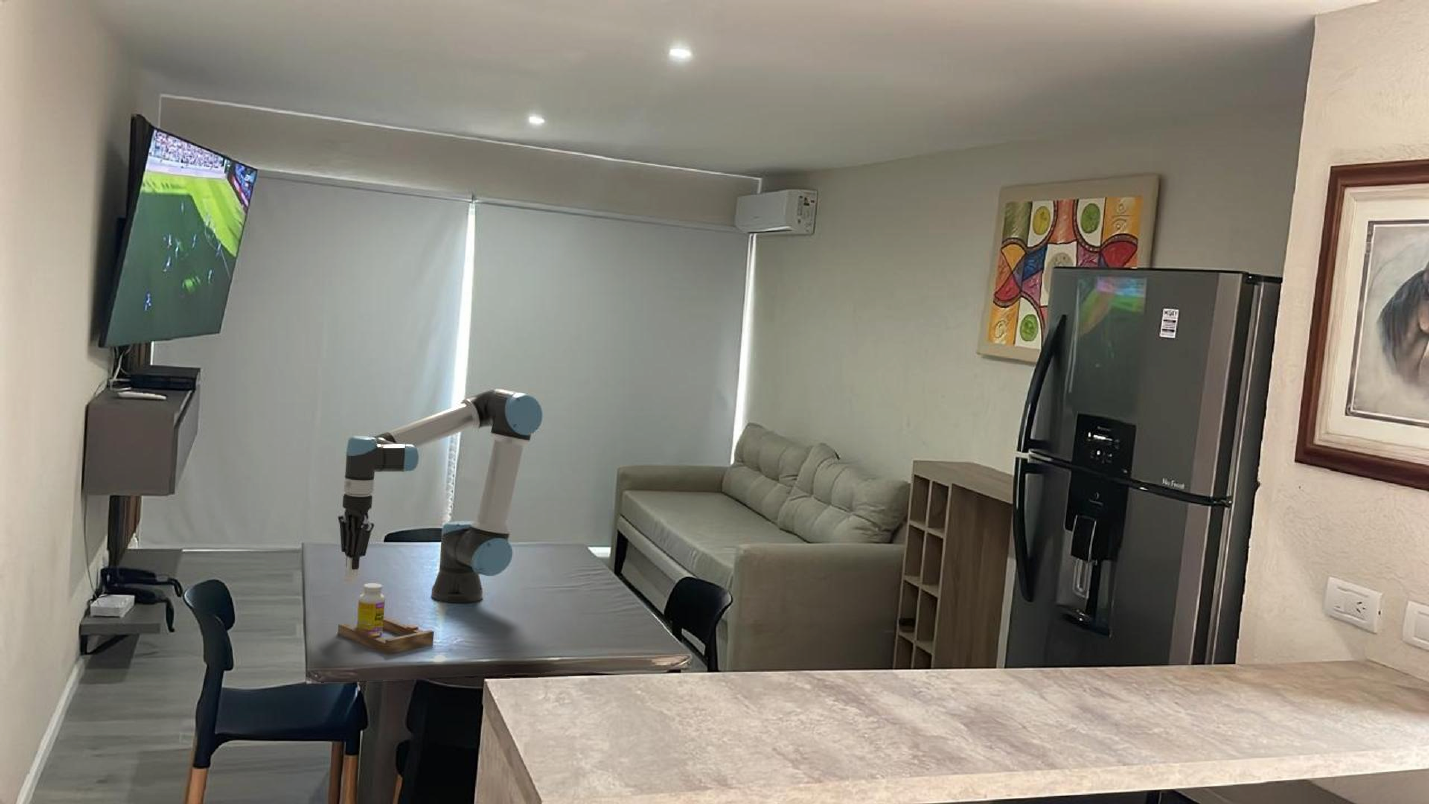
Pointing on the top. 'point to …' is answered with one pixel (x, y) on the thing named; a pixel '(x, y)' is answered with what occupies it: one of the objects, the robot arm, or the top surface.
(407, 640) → the wooden frame
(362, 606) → the supplement bottle
